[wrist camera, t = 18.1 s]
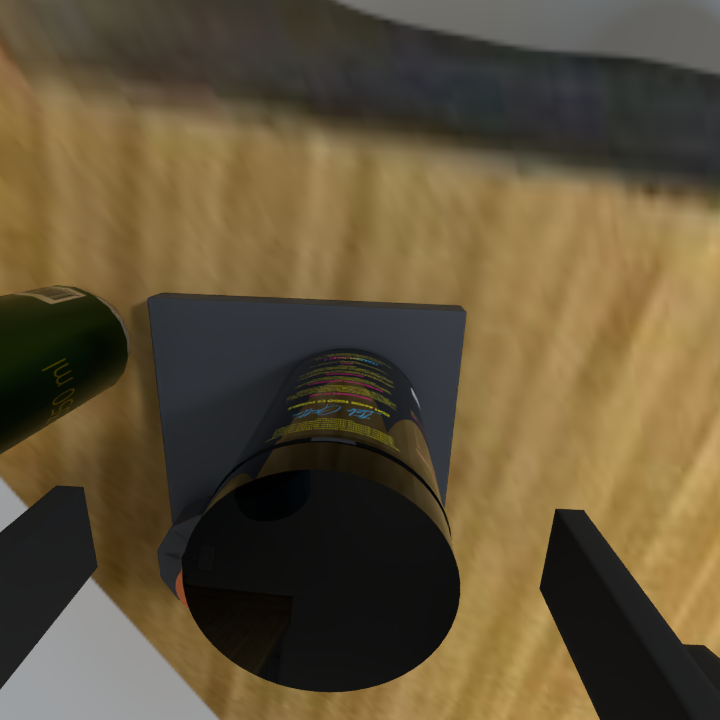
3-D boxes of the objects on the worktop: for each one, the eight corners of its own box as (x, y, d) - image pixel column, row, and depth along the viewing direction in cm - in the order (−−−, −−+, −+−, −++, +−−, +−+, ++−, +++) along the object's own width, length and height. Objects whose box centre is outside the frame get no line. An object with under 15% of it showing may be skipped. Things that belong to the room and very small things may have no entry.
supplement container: (254, 367, 20) (131, 512, 10) (395, 322, 19) (416, 432, 9) (306, 489, 22) (246, 714, 12) (437, 453, 21) (491, 664, 11)
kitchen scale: (188, 568, 25) (164, 612, 22) (160, 292, 20) (125, 303, 18) (431, 582, 25) (438, 629, 22) (461, 305, 20) (474, 319, 17)
